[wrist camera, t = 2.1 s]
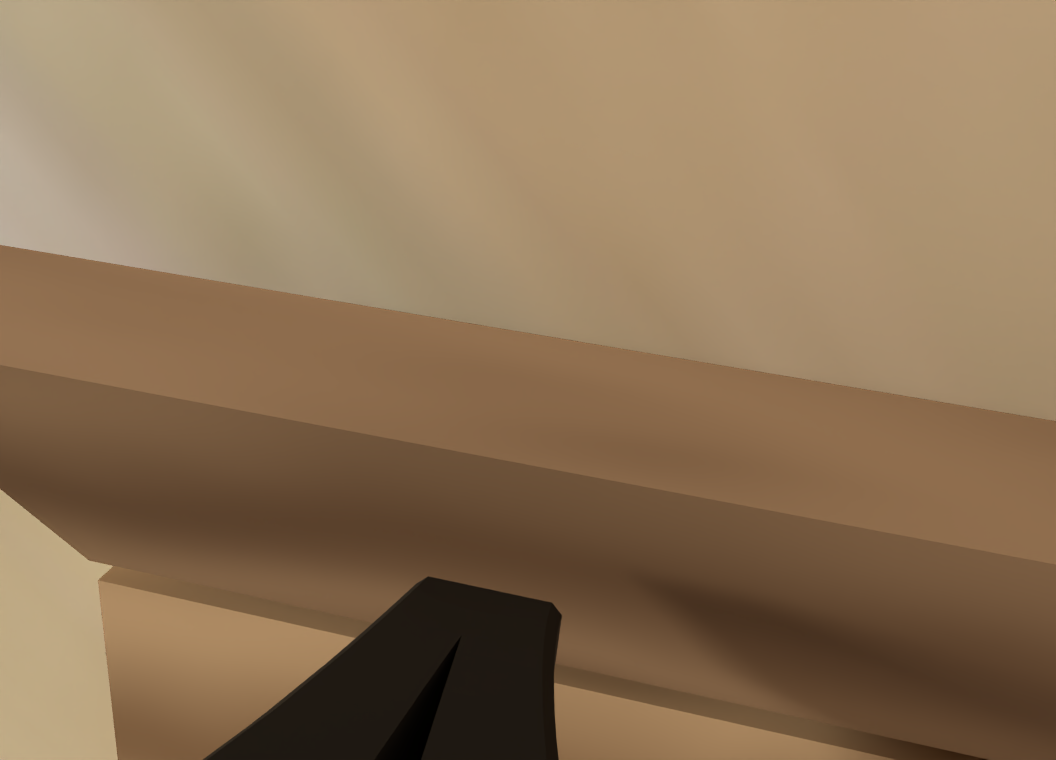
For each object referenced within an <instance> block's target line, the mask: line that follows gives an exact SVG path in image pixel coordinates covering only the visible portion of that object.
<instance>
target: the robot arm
mask: <svg viewBox="0 0 1056 760" xmlns="http://www.w3.org/2000/svg"><path fill="white" fill-rule="evenodd" d="M561 620H562V615H561V613H560V612H559V611H558V610H557V608H556V607H555V606H554V604H553V603H552V602H547V601H542V600H538V599H533V598H528V597H523V596H519V595H514V594H509V593H505V592H500V591H495V590H491V589H486V588H481V587H476V586H472V585H467V584H462V583H458V582H453V581H448V580H443V579H439V578H434V577H429V576H428V577H426V578H424V579H423V580H421V581H420V582H418V583H416V584H415V585H414V586H413V587H412V588H411V589H410V590H409V591H408V592H406V593H405V594H404V595H403V596H402V597H401V598H400V599H399V600H398V601H397V602H396V603H394V604H393V605H392V606H391V607H390V608H389V609H388V610H387V611H386V612H385V613H383V614H382V615H381V616H380V617H379V618H378V619H377V620H376V621H374V622H373V623H372V624H371V625H370V626H369V627H368V628H367V629H365V630H364V631H363V632H362V633H361V634H360V635H359V636H357V637H356V638H355V639H354V640H353V641H352V642H351V643H349V644H348V645H347V646H346V647H345V648H344V649H342V650H341V651H340V652H339V653H338V654H337V655H335V656H334V657H333V658H332V659H331V660H330V661H328V662H327V663H326V664H325V665H324V666H322V667H321V668H320V669H319V670H317V671H316V672H315V673H314V674H312V675H311V676H310V677H309V678H308V679H306V680H305V681H304V682H303V683H301V684H300V685H299V686H298V687H297V688H295V689H294V690H293V691H292V692H290V693H289V694H288V695H287V696H285V697H284V698H283V699H282V700H281V701H279V702H278V703H277V704H276V705H274V706H273V707H272V708H271V709H269V710H268V711H267V712H266V713H264V714H263V715H262V716H261V717H259V718H258V719H257V720H255V721H254V722H253V723H252V724H250V725H249V726H248V727H246V728H245V729H243V730H242V731H241V732H239V733H238V734H237V735H235V736H234V737H233V738H231V739H230V740H229V741H227V742H226V743H224V744H223V745H222V746H220V747H219V748H218V749H216V750H215V751H214V752H212V753H211V754H209V755H208V756H207V757H205V758H204V759H203V760H559V757H558V748H557V738H556V724H555V703H554V669H555V662H556V655H557V648H558V641H559V634H560V627H561Z"/></svg>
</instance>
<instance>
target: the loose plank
mask: <svg viewBox="0 0 1056 760" xmlns="http://www.w3.org/2000/svg"><path fill="white" fill-rule="evenodd" d="M0 489H1V490H2V491H4V492H5V493H6V494H7V495H9V496H10V497H11V498H12V499H14V500H15V501H16V502H17V503H19V504H20V505H21V506H22V507H23V508H25V509H26V510H27V511H28V512H30V513H31V514H32V515H33V516H35V517H36V518H37V519H38V520H40V521H41V522H42V523H43V524H45V525H46V526H47V527H48V528H50V529H51V530H52V531H53V532H54V533H56V534H57V535H58V536H59V537H61V538H62V539H63V540H64V541H66V542H67V543H68V544H69V545H71V546H72V547H73V548H74V549H76V550H77V551H78V552H79V553H81V554H82V555H83V556H84V557H85V558H87V559H88V560H90V561H94V562H99V563H103V564H108V565H112V566H117V567H121V568H126V569H131V570H135V571H140V572H144V573H149V574H153V575H158V576H162V577H167V578H171V579H176V580H180V581H185V582H189V583H194V584H198V585H203V586H207V587H212V588H216V589H221V590H225V591H230V592H234V593H239V594H243V595H248V596H252V597H257V598H261V599H266V600H270V601H275V602H280V603H284V604H289V605H293V606H298V607H302V608H307V609H311V610H316V611H320V612H325V613H329V614H334V615H338V616H343V617H347V618H352V619H356V620H361V621H365V622H370V623H373V622H374V621H376V620H377V619H378V618H379V617H380V616H381V615H382V614H383V613H385V612H386V611H387V610H388V609H389V608H390V607H391V606H392V605H393V604H394V603H396V602H397V601H398V600H399V599H400V598H401V597H402V596H403V595H404V594H405V593H406V592H408V591H409V590H410V589H411V588H412V587H413V586H414V585H415V584H416V583H418V582H420V581H421V580H423V579H424V578H426V577H428V576H429V577H434V578H439V579H443V580H448V581H453V582H458V583H462V584H467V585H472V586H476V587H481V588H486V589H491V590H495V591H500V592H505V593H509V594H514V595H519V596H523V597H528V598H533V599H538V600H542V601H547V602H552V603H553V604H554V606H555V607H556V608H557V610H558V611H559V612H560V613H561V615H562V620H561V627H560V634H559V641H558V648H557V655H556V662H555V664H559V665H564V666H568V667H573V668H577V669H582V670H587V671H591V672H596V673H600V674H605V675H609V676H614V677H618V678H623V679H627V680H632V681H636V682H641V683H645V684H650V685H654V686H659V687H663V688H668V689H672V690H677V691H681V692H686V693H690V694H695V695H699V696H704V697H708V698H713V699H717V700H722V701H726V702H731V703H736V704H740V705H745V706H749V707H754V708H758V709H763V710H767V711H772V712H776V713H781V714H785V715H790V716H794V717H799V718H803V719H808V720H812V721H817V722H821V723H826V724H830V725H835V726H839V727H844V728H848V729H853V730H857V731H862V732H866V733H871V734H875V735H880V736H885V737H889V738H894V739H898V740H903V741H907V742H912V743H916V744H921V745H925V746H930V747H934V748H939V749H943V750H948V751H952V752H957V753H961V754H966V755H970V756H975V757H979V758H984V759H988V760H1056V421H1051V420H1045V419H1039V418H1033V417H1027V416H1021V415H1015V414H1009V413H1003V412H997V411H991V410H985V409H979V408H973V407H967V406H961V405H955V404H949V403H943V402H937V401H931V400H925V399H919V398H913V397H907V396H901V395H895V394H889V393H883V392H877V391H871V390H865V389H859V388H853V387H847V386H841V385H835V384H829V383H823V382H817V381H811V380H805V379H799V378H793V377H787V376H781V375H775V374H769V373H763V372H757V371H751V370H745V369H739V368H733V367H727V366H721V365H715V364H709V363H703V362H697V361H691V360H685V359H679V358H673V357H667V356H661V355H655V354H649V353H643V352H637V351H631V350H625V349H619V348H613V347H608V346H602V345H596V344H590V343H584V342H578V341H572V340H566V339H560V338H554V337H548V336H542V335H536V334H530V333H524V332H518V331H512V330H506V329H500V328H494V327H488V326H482V325H476V324H470V323H464V322H458V321H452V320H446V319H440V318H434V317H428V316H422V315H416V314H410V313H404V312H398V311H392V310H386V309H380V308H374V307H368V306H362V305H356V304H350V303H344V302H338V301H332V300H326V299H320V298H314V297H308V296H302V295H296V294H290V293H284V292H278V291H272V290H266V289H260V288H254V287H248V286H242V285H236V284H230V283H224V282H218V281H212V280H206V279H200V278H194V277H188V276H182V275H176V274H170V273H164V272H159V271H153V270H147V269H141V268H135V267H129V266H123V265H117V264H111V263H105V262H99V261H93V260H87V259H81V258H75V257H69V256H63V255H57V254H51V253H45V252H39V251H33V250H27V249H21V248H15V247H9V246H3V245H0Z"/></svg>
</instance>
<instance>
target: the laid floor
mask: <svg viewBox="0 0 1056 760" xmlns="http://www.w3.org/2000/svg"><path fill="white" fill-rule="evenodd" d="M98 584H99V593H100V602H101V611H102V620H103V629H104V638H105V647H106V656H107V665H108V674H109V683H110V692H111V701H112V710H113V719H114V728H115V737H116V746H117V755H118V760H203V759H204V758H205V757H207V756H208V755H209V754H211V753H212V752H214V751H215V750H216V749H218V748H219V747H220V746H222V745H223V744H224V743H226V742H227V741H229V740H230V739H231V738H233V737H234V736H235V735H237V734H238V733H239V732H241V731H242V730H243V729H245V728H246V727H248V726H249V725H250V724H252V723H253V722H254V721H255V720H257V719H258V718H259V717H261V716H262V715H263V714H264V713H266V712H267V711H268V710H269V709H271V708H272V707H273V706H274V705H276V704H277V703H278V702H279V701H281V700H282V699H283V698H284V697H285V696H287V695H288V694H289V693H290V692H292V691H293V690H294V689H295V688H297V687H298V686H299V685H300V684H301V683H303V682H304V681H305V680H306V679H308V678H309V677H310V676H311V675H312V674H314V673H315V672H316V671H317V670H319V669H320V668H321V667H322V666H324V665H325V664H326V663H327V662H328V661H330V660H331V659H332V658H333V657H334V656H335V655H337V654H338V653H339V652H340V651H341V650H342V649H344V648H345V647H346V646H347V645H348V644H349V643H351V642H352V641H353V640H354V639H355V638H356V637H357V636H359V635H360V634H361V633H362V632H363V631H364V630H365V629H367V628H368V627H369V626H370V625H371V624H372V623H370V622H365V621H361V620H356V619H352V618H347V617H343V616H338V615H334V614H329V613H325V612H320V611H316V610H311V609H307V608H302V607H298V606H293V605H289V604H284V603H280V602H275V601H270V600H266V599H261V598H257V597H252V596H248V595H243V594H239V593H234V592H230V591H225V590H221V589H216V588H212V587H207V586H203V585H198V584H194V583H189V582H185V581H180V580H176V579H171V578H167V577H162V576H158V575H153V574H149V573H144V572H140V571H135V570H131V569H126V568H121V567H117V566H113V567H112V568H111V569H110V570H109V571H108V572H107V573H106V574H104V575H103V576H102V577H101V578H100V579H99V580H98ZM554 703H555V724H556V738H557V748H558V757H559V760H988V759H984V758H979V757H975V756H970V755H966V754H961V753H957V752H952V751H948V750H943V749H939V748H934V747H930V746H925V745H921V744H916V743H912V742H907V741H903V740H898V739H894V738H889V737H885V736H880V735H875V734H871V733H866V732H862V731H857V730H853V729H848V728H844V727H839V726H835V725H830V724H826V723H821V722H817V721H812V720H808V719H803V718H799V717H794V716H790V715H785V714H781V713H776V712H772V711H767V710H763V709H758V708H754V707H749V706H745V705H740V704H736V703H731V702H726V701H722V700H717V699H713V698H708V697H704V696H699V695H695V694H690V693H686V692H681V691H677V690H672V689H668V688H663V687H659V686H654V685H650V684H645V683H641V682H636V681H632V680H627V679H623V678H618V677H614V676H609V675H605V674H600V673H596V672H591V671H587V670H582V669H577V668H573V667H568V666H564V665H559V664H555V669H554Z"/></svg>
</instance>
